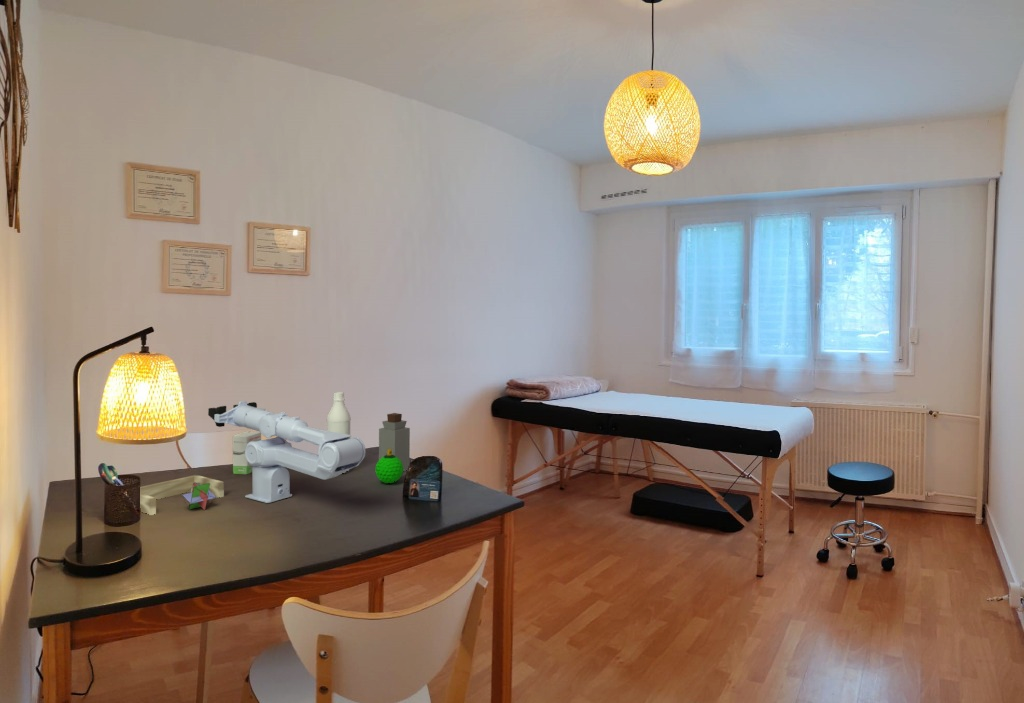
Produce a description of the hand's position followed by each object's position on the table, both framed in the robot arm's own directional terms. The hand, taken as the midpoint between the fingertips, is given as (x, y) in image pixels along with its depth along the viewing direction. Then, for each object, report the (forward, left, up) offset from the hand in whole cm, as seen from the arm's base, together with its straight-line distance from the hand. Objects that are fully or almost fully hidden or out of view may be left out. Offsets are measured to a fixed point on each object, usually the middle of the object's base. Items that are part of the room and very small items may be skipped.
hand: (222, 410), depth 177 cm
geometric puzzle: (-14, +16, -22) cm, 30 cm away
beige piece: (-4, +16, -22) cm, 27 cm away
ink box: (+9, -14, -22) cm, 28 cm away
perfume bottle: (-27, -41, -22) cm, 54 cm away
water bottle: (-15, -29, -22) cm, 39 cm away
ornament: (-36, -29, -22) cm, 51 cm away
